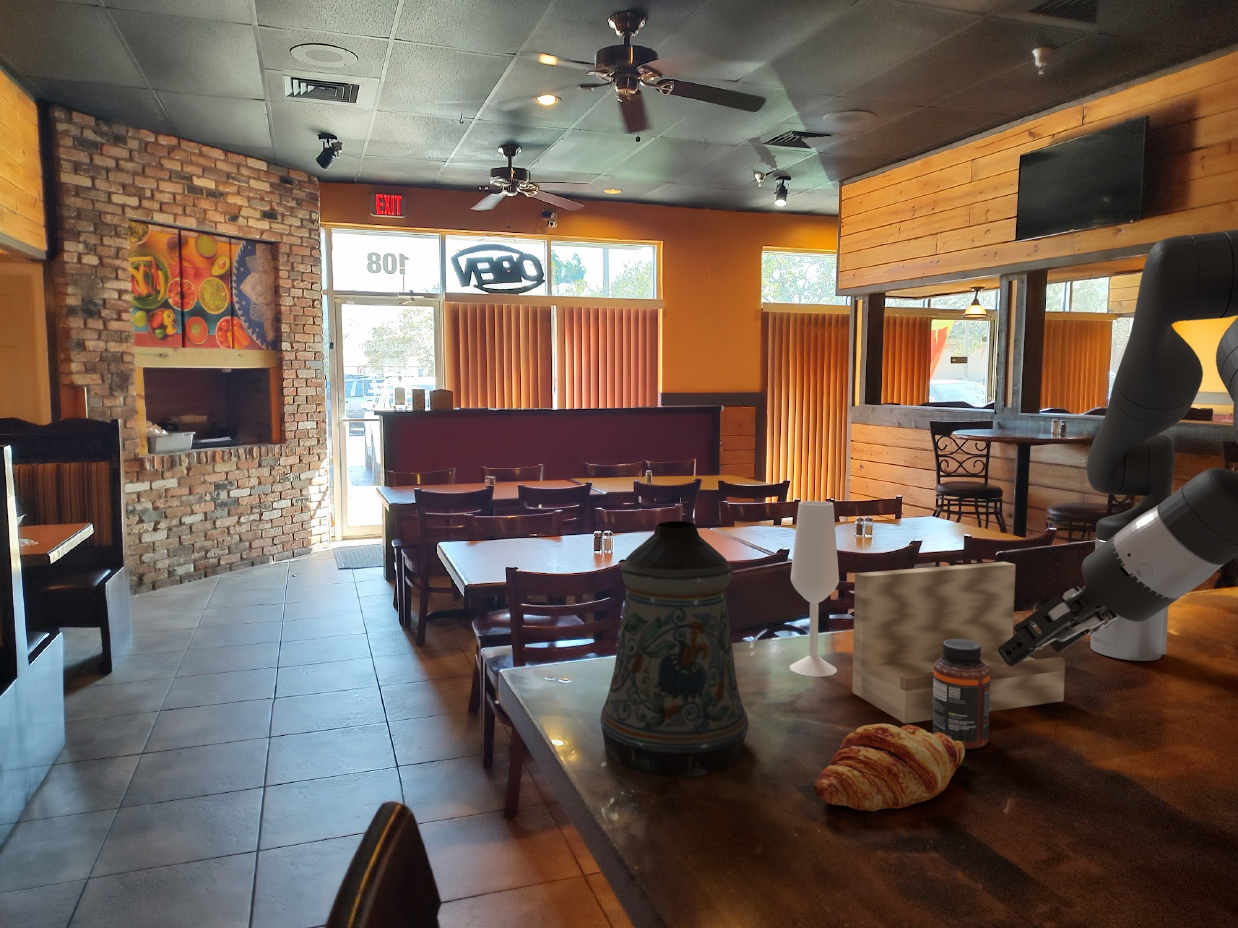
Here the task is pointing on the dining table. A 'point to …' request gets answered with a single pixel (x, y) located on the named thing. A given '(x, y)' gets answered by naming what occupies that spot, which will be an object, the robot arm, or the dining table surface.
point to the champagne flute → (814, 573)
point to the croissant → (889, 767)
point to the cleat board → (941, 637)
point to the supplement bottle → (961, 694)
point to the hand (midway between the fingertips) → (1028, 650)
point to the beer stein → (675, 661)
